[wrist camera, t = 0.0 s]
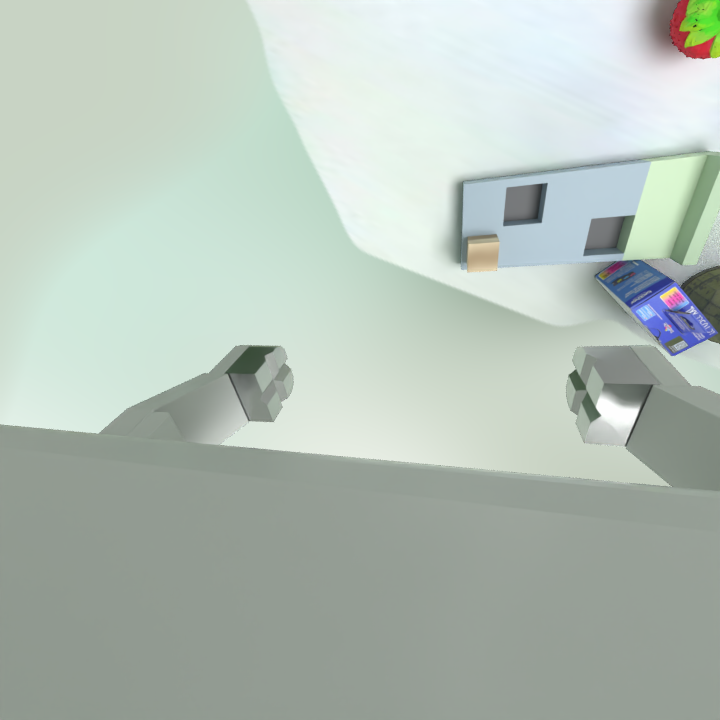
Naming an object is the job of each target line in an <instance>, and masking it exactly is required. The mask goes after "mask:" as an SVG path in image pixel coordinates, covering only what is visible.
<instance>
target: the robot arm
mask: <svg viewBox="0 0 720 720" xmlns="http://www.w3.org/2000/svg"><path fill="white" fill-rule="evenodd" d="M286 360H287V355H286V352H285V350H284V348H282V347H281V346H259V345H256V346H255V345H253V346H252V345H240V346H235V347H234V348H233V349H232V350H231V351H230V352H229V353H228V354H227V355H226V356H225V357H224V358H223V359H222V360H221V361H220V362H219V363H218V365H216V366H215V367H214V368H213V369H212V370H211V371H210V372H209V373H204V374H201V375H199V376H197V377H195V378H193V379H191V380H189V381H187V382H184V383H182V384H180V385H178V386H175V387H173V388H171V389H169V390H167V391H164V392H162V393H161V394H158V395H156V396H154V397H151V398H149V399H147V400H145V401H143V402H140V403H138V404H136V405H134V406H132V407H130V408H128V409H126V410H125V411H124V412H123V413H122V414H120V415H119V416H118V417H117V418H116V419H115V420H114V421H112V422H111V423H110V424H109V425H108V426H107V427H105V428H104V429H103V430H102V431H101V432H100V433H99V434H95V433H83V432H74V431H63V430H53V429H42V428H31V427H20V426H9V425H0V720H720V395H719V394H717V393H715V392H712V391H710V390H707V389H705V388H703V387H701V386H691V385H690V384H689V383H688V382H687V380H686V379H685V378H684V377H683V376H682V375H681V374H680V373H679V372H678V371H677V370H676V369H675V367H673V365H672V364H671V363H670V362H669V361H668V360H667V359H666V358H665V357H664V356H663V354H661V352H660V351H659V350H658V349H657V348H656V347H654V346H651V345H637V346H597V347H595V346H594V347H577V349H576V351H575V353H574V356H573V363H574V365H575V368H576V370H574V371H573V372H572V373H571V374H569V376H568V380H567V386H566V397H567V402H568V405H569V408H570V410H571V411H572V412H574V413H575V414H576V415H578V417H577V420H576V425H577V427H578V429H579V432H580V435H581V437H582V439H583V442H584V443H589V444H600V445H610V446H622V447H626V449H627V450H628V451H629V452H630V453H632V454H633V455H634V456H635V457H637V458H638V459H639V460H640V461H642V462H643V463H644V464H645V465H646V466H648V467H649V468H650V469H651V470H652V471H654V472H655V473H656V474H657V475H658V476H660V477H661V478H662V479H663V480H665V481H666V482H667V483H669V485H671V486H672V487H668V486H656V485H646V484H634V483H622V482H613V481H602V480H591V479H581V478H570V477H559V476H548V475H537V474H527V473H516V472H504V471H495V470H483V469H473V468H462V467H452V466H441V465H430V464H419V463H408V462H397V461H386V460H376V459H365V458H353V457H343V456H342V457H341V456H332V455H321V454H310V453H300V452H288V451H278V450H267V449H257V448H245V447H235V446H224V445H220V444H221V443H222V442H224V441H225V440H226V439H227V438H229V437H230V436H232V435H233V434H234V433H235V432H237V431H238V430H239V429H241V428H242V427H243V426H245V425H246V424H247V423H248V422H249V421H263V422H274V420H275V419H276V417H277V415H278V414H279V412H280V410H281V409H282V404H281V402H282V401H283V400H285V399H287V398H288V397H289V395H290V394H291V392H292V388H293V374H292V371H291V369H290V368H289V367H288V366H287V365H286V364H285V362H286Z"/></svg>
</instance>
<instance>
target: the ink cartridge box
mask: <svg viewBox="0 0 720 720" xmlns="http://www.w3.org/2000/svg"><path fill="white" fill-rule="evenodd" d="M595 278H596V280H597V281H598V282H599V283H600V284H601V285H602V286H603V287H604V288H605V290H606V291H607V292H608V293H609V294H610V295H611V296H612V297H613V298H614V299H615V300H616V301H617V303H618V304H619V305H620V306H621V307H622V308H623V309H624V310H625V311H626V312H627V314H628V315H629V316H630V317H632V318H633V319H634V320H635V321H636V322H637V323H638V324H639V325H640V326H641V327H642V328H643V329H644V330H645V331H646V332H647V333H648V334H649V335H650V336H651V337H652V338H653V339H654V340H655V341H656V342H657V343H658V344H659V345H660V346H661V347H662V348H663V349H665V350H666V351H667V352H668V353H669V354H670V355H671V356H675V355H677V354H679V353H681V352H683V351H685V350H687V349H689V348H691V347H693V346H695V345H697V344H699V343H701V342H703V341H705V340H707V339H709V338H711V337H713V336H714V335H716V334H718V332H717V331H716V329H715V328H714V327H713V326H712V324H711V323H710V322H709V321H708V320H707V319H706V317H705V316H704V315H703V314H702V313H701V312H700V310H699V309H698V308H697V307H696V306H695V304H694V303H693V302H692V301H691V300H690V298H689V297H688V296H687V295H686V294H685V293H684V291H683V290H682V289H681V288H680V287H679V285H678V284H677V283H676V282H675V281H673V280H672V279H670V278H669V277H667V276H665V275H664V274H662V273H661V272H659V271H657V270H656V269H654V268H653V267H651V266H649V265H648V264H646V263H644V262H643V261H641V260H625V261H617V262H615V263H614V264H612V265H611V266H609V267H608V268H606V269H605V270H603V271H602V272H600V273H599V274H597V275H596V276H595Z"/></svg>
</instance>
